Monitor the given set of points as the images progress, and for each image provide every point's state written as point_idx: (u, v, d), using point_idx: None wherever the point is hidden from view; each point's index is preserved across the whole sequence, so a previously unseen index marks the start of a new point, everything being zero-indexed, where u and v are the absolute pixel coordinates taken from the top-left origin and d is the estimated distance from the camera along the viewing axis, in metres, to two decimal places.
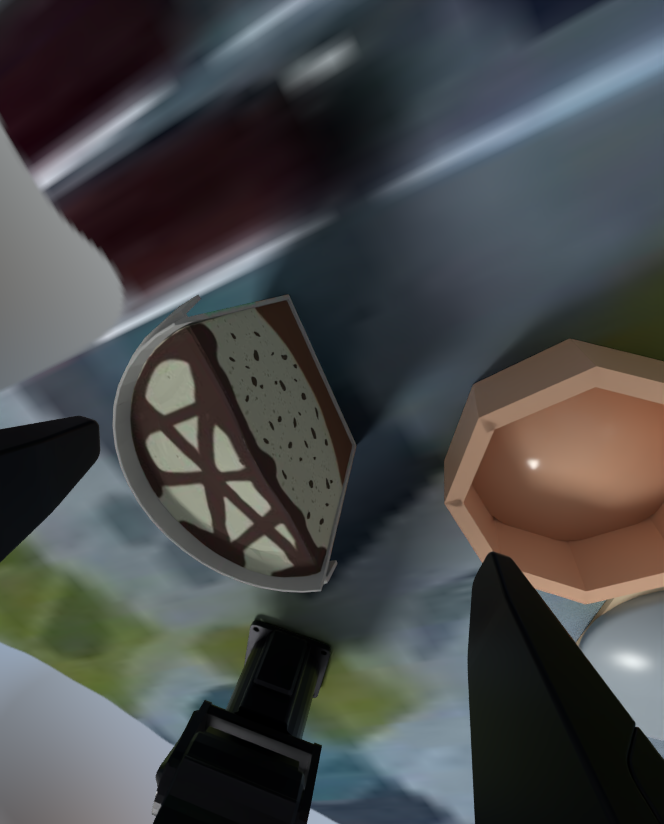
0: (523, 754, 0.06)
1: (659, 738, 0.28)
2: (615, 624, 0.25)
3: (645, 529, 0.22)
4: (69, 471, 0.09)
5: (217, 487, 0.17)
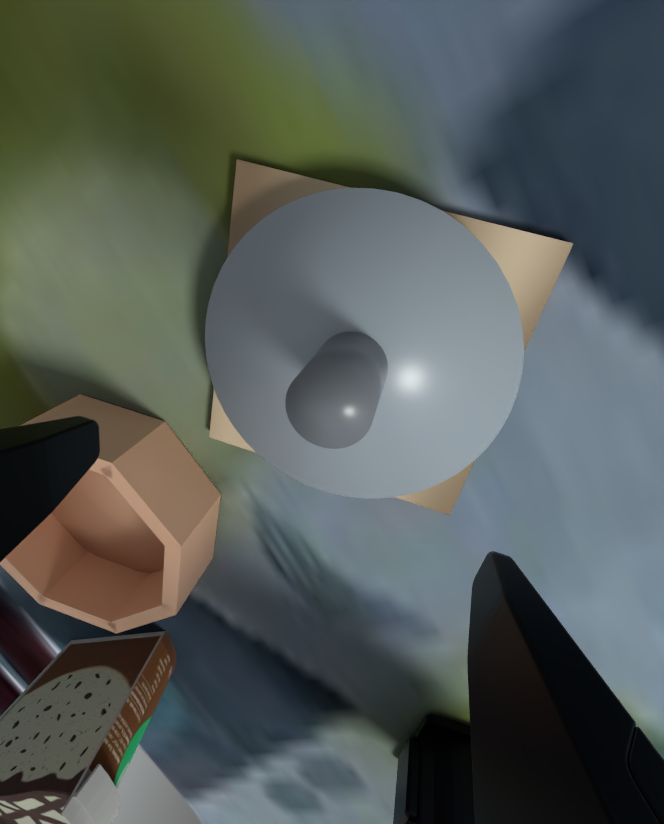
0: (523, 753, 0.06)
1: (514, 393, 0.16)
2: (278, 469, 0.20)
3: None
4: (69, 471, 0.09)
5: (35, 814, 0.24)
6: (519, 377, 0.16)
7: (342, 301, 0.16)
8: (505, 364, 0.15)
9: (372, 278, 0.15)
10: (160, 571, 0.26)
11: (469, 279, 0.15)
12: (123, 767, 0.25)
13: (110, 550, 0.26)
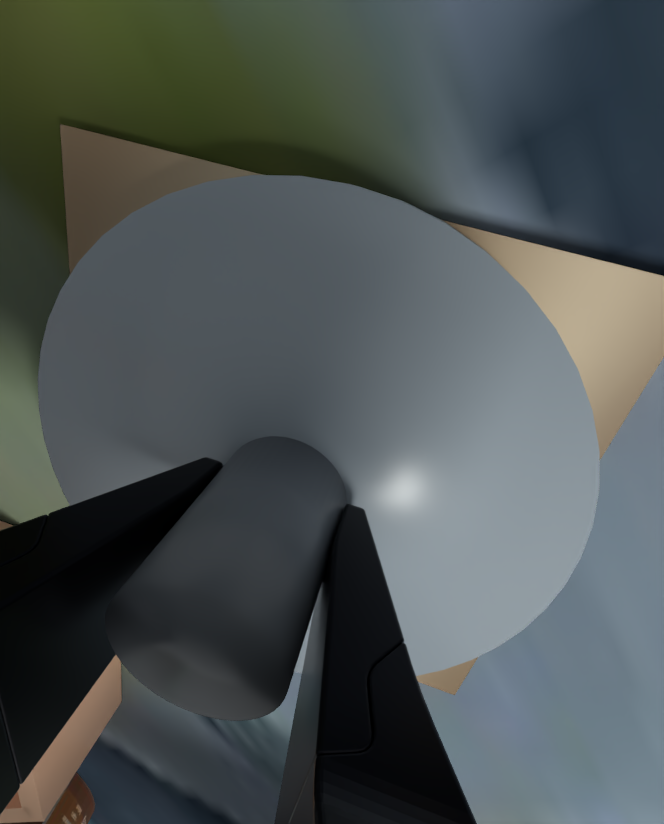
0: (310, 674, 0.06)
1: (575, 556, 0.09)
2: None
3: None
4: None
5: None
6: (586, 530, 0.08)
7: (259, 386, 0.09)
8: (562, 507, 0.08)
9: (310, 348, 0.08)
10: None
11: (496, 357, 0.07)
12: None
13: None
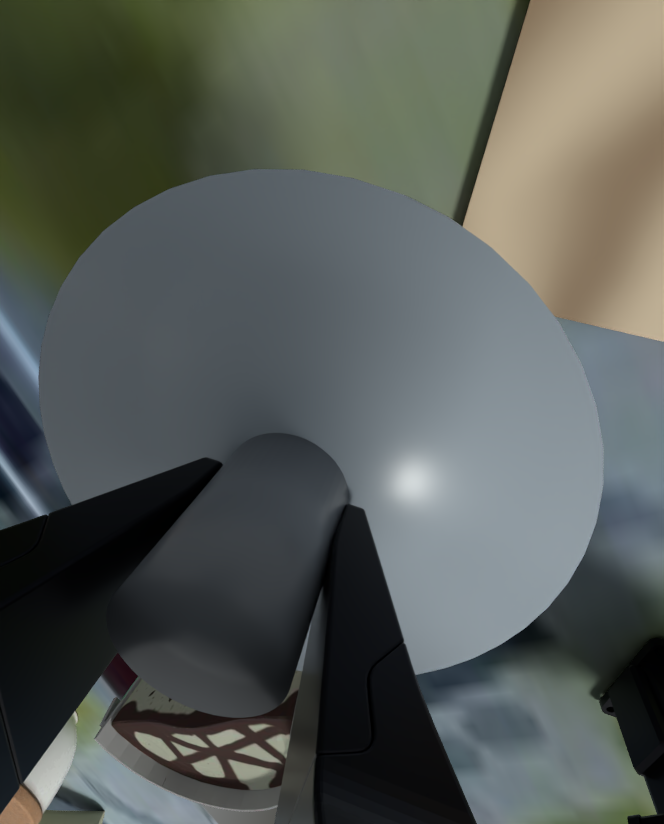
0: (310, 674, 0.06)
1: (578, 553, 0.09)
2: None
3: None
4: None
5: (226, 752, 0.20)
6: (590, 527, 0.08)
7: (261, 382, 0.09)
8: (565, 504, 0.08)
9: (312, 344, 0.08)
10: None
11: (500, 352, 0.07)
12: None
13: None
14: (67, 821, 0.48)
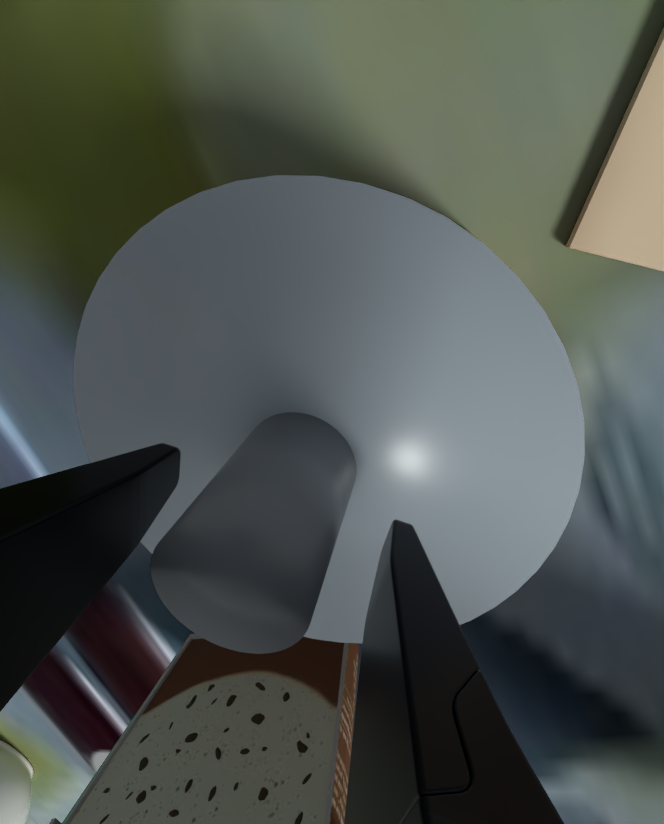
0: (379, 700, 0.06)
1: (564, 519, 0.10)
2: None
3: None
4: (155, 501, 0.09)
5: None
6: (574, 495, 0.09)
7: (278, 365, 0.10)
8: (551, 474, 0.09)
9: (325, 330, 0.09)
10: None
11: (492, 337, 0.08)
12: None
13: None
14: None
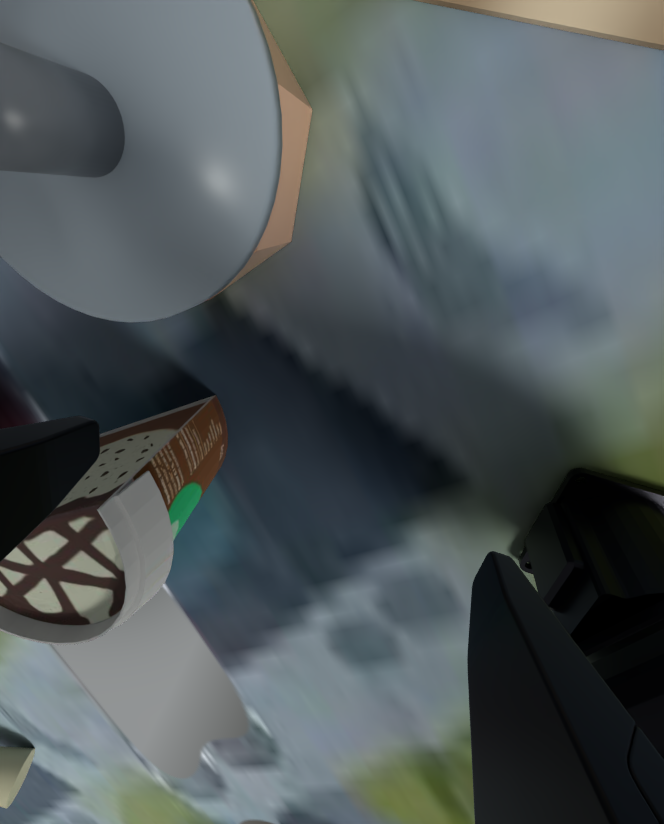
0: (522, 753, 0.06)
1: (268, 142, 0.13)
2: (43, 291, 0.17)
3: None
4: (69, 471, 0.09)
5: (54, 569, 0.17)
6: (269, 116, 0.12)
7: (50, 26, 0.13)
8: (249, 97, 0.12)
9: None
10: None
11: None
12: (173, 519, 0.18)
13: None
14: None
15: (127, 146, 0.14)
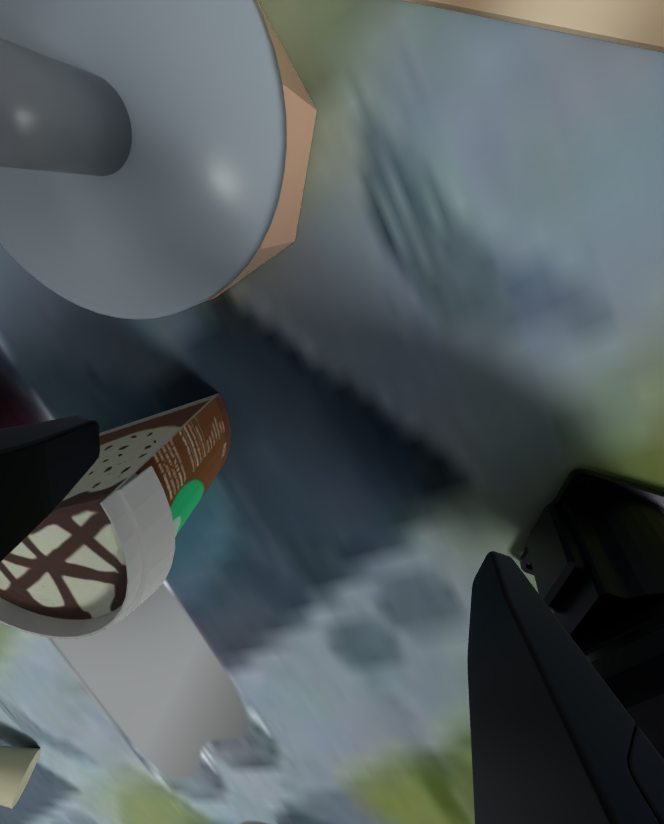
0: (522, 753, 0.06)
1: (272, 141, 0.13)
2: (50, 288, 0.17)
3: None
4: (69, 471, 0.09)
5: (57, 563, 0.17)
6: (274, 116, 0.13)
7: (60, 27, 0.13)
8: (254, 97, 0.12)
9: None
10: None
11: None
12: (175, 515, 0.18)
13: None
14: None
15: (134, 145, 0.14)
